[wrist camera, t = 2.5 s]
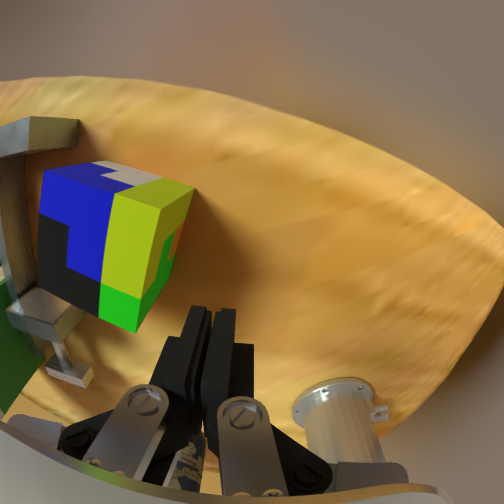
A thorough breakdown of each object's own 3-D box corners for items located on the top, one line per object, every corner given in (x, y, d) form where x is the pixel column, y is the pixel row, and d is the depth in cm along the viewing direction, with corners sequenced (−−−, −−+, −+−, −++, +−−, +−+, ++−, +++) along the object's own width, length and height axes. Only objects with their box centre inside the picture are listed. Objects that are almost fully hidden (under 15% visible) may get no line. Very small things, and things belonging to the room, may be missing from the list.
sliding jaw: (88, 290, 29) (53, 326, 21) (107, 363, 33) (85, 401, 26) (40, 281, 29) (5, 309, 21) (61, 350, 33) (37, 382, 25)
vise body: (78, 119, 22) (30, 116, 15) (104, 351, 32) (80, 390, 25) (16, 134, 22) (-28, 138, 14) (47, 335, 32) (21, 365, 25)
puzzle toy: (107, 160, 24) (44, 170, 15) (195, 187, 25) (160, 209, 16) (91, 247, 27) (38, 286, 18) (169, 277, 28) (135, 333, 19)
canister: (212, 429, 38) (200, 522, 21) (202, 450, 41) (191, 528, 24) (156, 414, 37) (130, 504, 20) (153, 437, 40) (133, 513, 24)
